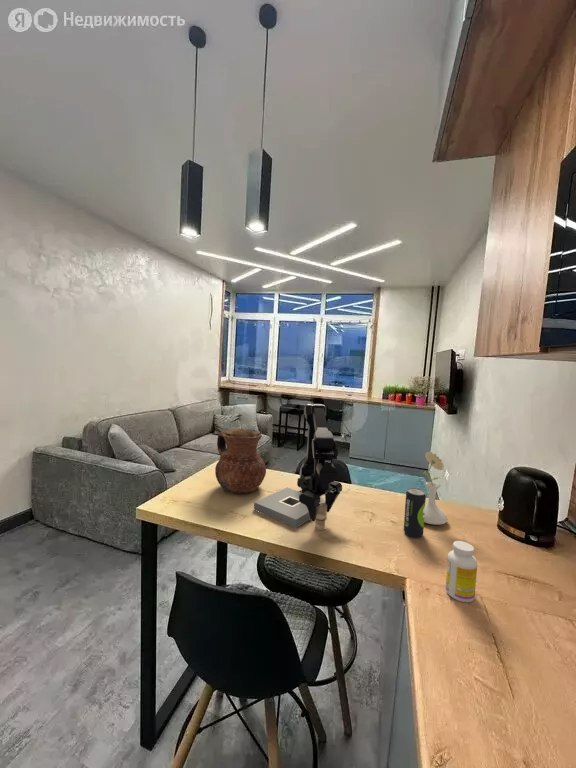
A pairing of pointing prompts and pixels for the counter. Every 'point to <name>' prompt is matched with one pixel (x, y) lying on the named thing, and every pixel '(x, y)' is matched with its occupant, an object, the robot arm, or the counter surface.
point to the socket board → (284, 507)
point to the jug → (239, 461)
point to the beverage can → (414, 512)
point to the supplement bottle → (461, 572)
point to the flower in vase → (433, 494)
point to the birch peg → (321, 517)
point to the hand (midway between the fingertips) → (320, 516)
